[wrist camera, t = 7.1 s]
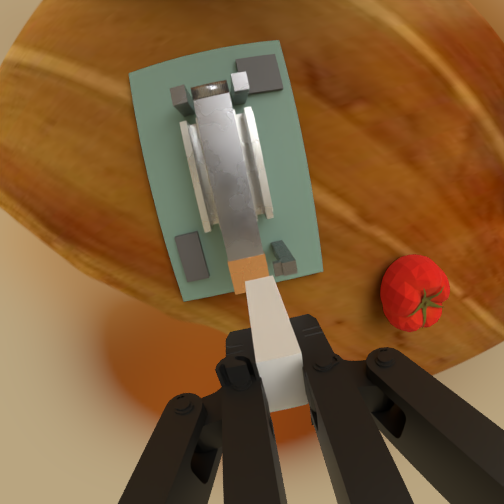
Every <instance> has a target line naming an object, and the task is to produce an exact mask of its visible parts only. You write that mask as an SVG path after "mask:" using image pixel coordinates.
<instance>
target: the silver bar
mask: <svg viewBox="0 0 504 504" xmlns="http://www.w3.org/2000/svg"><path fill="white" fill-rule="evenodd" d="M249 89H250V88H249V83H248V79H247V75H246V71H245V72H239V73H233V74H231V89H230V91H231V96H232V100H233V105H238V104H244V103H246V100H247V96H248V93H249ZM170 93H171V99H172V104H173V106H174V107H175V108H176V109H177V110H178V111H179V112H180V113H181V114H182V115H183V116H184V117H185V116H189V115H193V114H196V113H195V108H194V103H193V99H192V97H191V95H190V94H189V92H188V90H187V89H186V87H185V85H184V84H183V85H180V86H176V87H172V88H170ZM233 112H234V116H235V121H236V125H237V130H238V135H239V139H240V144H241V148H242V153H243V158H244V162H245V167H246V172H247V176H248V181H249V186H250V191H251V195H252V200H253V205H254V210H255V214H256V219H257V221H258V217H257V215H259V214H264V215H265V217H266V218H267V219H270V218H274V216H273V207H272V201H271V196H270V191H269V186H268V181H267V176H266V171H265V166H264V161H263V156H262V151H261V147H260V142H259V137H258V132H257V128H256V123H255V118H254V114H253V111H252V109H251V107H245V108H244V110H243V113H241V114H236V113H235V110H233ZM195 119H196V124H192V125H190V124H189V123H188V122H187V121H183V122H179V123H180V128H181V133H182V138H183V142H184V147H185V151H186V156H187V161H188V165H189V169H190V174H191V178H192V183H193V187H194V191H195V195H196V200H197V204H198V208H199V212H200V216H201V220H202V224H203V228H204V232H205V233H206V232H211V231H212V227H213V224H218V223H219V218H218V214H217V210H216V205H215V201H214V196H213V192H212V187H211V183H210V178H209V174H208V169H207V165H206V160H205V155H204V151H203V146H202V141H201V136H200V131H199V127H198V122H197V118H195ZM219 226H220V223H219ZM220 229H221V227H220ZM271 245H272V250H273V254H274V256H275V258H276V260H277V261H272V264H273V269H274V274H275V277H277V276H281V275H284V276H288V275H292V274H296V273H298V272H297V265H296V260H295V258H294V257H293V255H292V254H291V252H290V251H289V249H288V248H287V246H286V245H285V243H284V242H283V240H280V241H275V242H271Z"/></svg>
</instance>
